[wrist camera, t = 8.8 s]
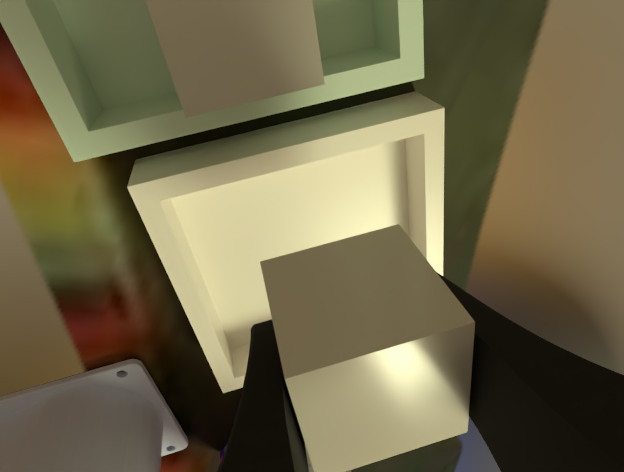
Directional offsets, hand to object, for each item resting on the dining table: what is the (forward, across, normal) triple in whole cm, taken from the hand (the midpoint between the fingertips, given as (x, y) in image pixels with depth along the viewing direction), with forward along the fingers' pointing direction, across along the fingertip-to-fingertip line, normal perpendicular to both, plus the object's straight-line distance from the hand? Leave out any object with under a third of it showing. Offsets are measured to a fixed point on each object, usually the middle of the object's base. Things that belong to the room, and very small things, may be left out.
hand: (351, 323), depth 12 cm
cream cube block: (+8, +1, -8) cm, 11 cm away
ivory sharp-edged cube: (+1, 0, 0) cm, 1 cm away
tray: (+8, 0, +3) cm, 9 cm away
